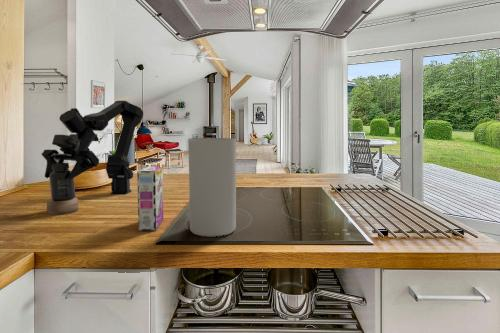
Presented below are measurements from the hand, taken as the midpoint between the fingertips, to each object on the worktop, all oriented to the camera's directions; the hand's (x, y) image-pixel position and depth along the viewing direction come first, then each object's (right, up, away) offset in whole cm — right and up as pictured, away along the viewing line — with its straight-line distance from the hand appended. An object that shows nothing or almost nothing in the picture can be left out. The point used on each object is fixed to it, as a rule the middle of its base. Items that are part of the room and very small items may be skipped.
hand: (57, 178), depth 102 cm
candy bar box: (+34, -13, -11) cm, 38 cm away
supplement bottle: (0, -7, +3) cm, 8 cm away
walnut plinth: (0, -11, +3) cm, 12 cm away
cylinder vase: (+52, -14, -15) cm, 56 cm away
